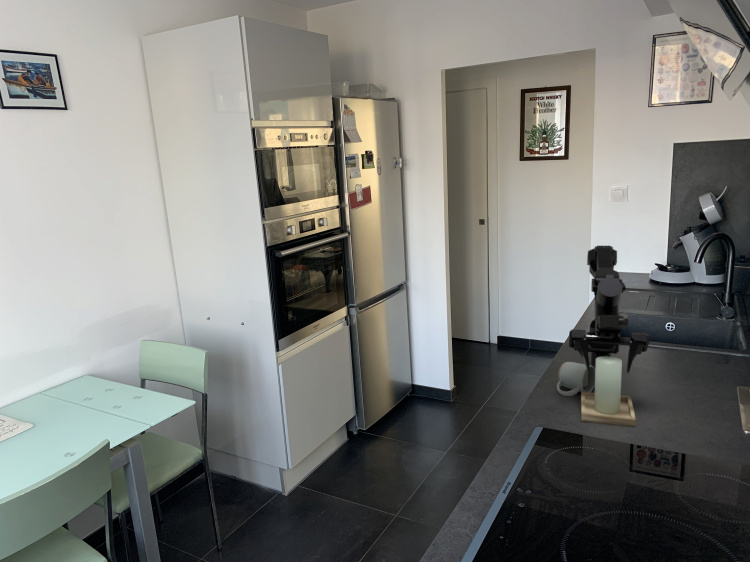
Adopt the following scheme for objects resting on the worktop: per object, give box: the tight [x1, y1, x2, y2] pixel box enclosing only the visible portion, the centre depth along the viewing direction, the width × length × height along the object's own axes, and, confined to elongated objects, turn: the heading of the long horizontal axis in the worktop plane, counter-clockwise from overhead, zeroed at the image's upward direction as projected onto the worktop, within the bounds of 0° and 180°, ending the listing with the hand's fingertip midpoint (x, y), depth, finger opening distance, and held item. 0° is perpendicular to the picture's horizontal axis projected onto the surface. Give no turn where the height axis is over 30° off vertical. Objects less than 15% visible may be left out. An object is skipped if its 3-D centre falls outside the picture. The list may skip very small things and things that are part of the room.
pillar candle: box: [594, 355, 623, 414], centre depth 140 cm, size 6×6×13 cm
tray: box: [580, 392, 637, 428], centre depth 141 cm, size 14×12×2 cm
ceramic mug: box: [556, 361, 595, 397], centre depth 154 cm, size 11×8×8 cm
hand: (608, 371), depth 139 cm, fingers open, 9 cm apart
